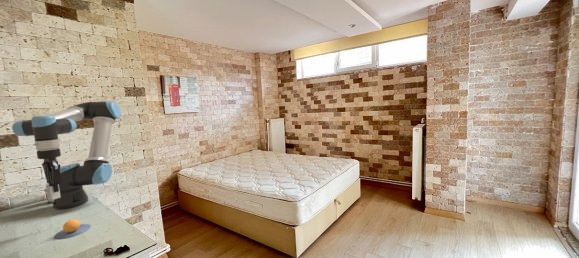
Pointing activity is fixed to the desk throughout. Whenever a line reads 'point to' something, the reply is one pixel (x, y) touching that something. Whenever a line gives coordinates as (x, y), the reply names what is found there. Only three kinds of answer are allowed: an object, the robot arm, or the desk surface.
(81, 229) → the disc
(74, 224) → the ball
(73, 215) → the desk surface
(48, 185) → the supplement box
